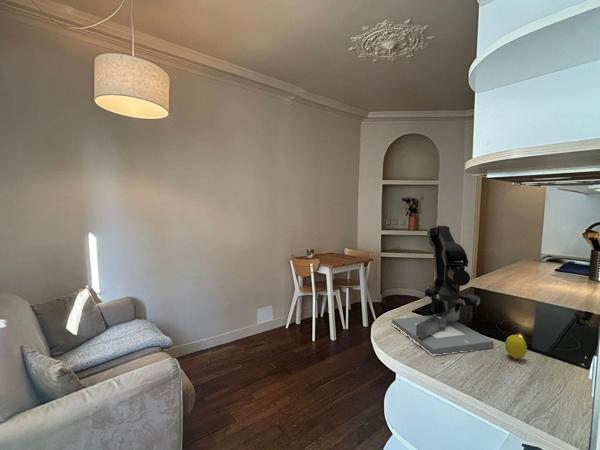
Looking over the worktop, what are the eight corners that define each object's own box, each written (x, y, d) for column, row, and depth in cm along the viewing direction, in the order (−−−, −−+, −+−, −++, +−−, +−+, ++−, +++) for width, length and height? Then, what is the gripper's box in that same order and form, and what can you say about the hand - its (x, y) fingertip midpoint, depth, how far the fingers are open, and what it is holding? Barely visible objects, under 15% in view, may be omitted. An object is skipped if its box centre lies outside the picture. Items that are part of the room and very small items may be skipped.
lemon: (501, 358, 95) (503, 334, 94) (507, 352, 98) (509, 329, 98) (522, 365, 91) (525, 340, 90) (527, 359, 94) (530, 335, 93)
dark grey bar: (450, 316, 119) (450, 306, 119) (461, 319, 116) (462, 309, 116) (413, 334, 103) (413, 323, 102) (425, 339, 99) (426, 327, 99)
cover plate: (442, 320, 124) (443, 313, 124) (493, 348, 101) (493, 340, 101) (391, 325, 118) (392, 318, 118) (432, 356, 95) (433, 348, 95)
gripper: (420, 278, 117) (418, 316, 118) (473, 287, 104) (471, 330, 105) (430, 273, 125) (428, 309, 126) (481, 281, 112) (479, 321, 114)
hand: (450, 317), depth 118 cm, fingers open, 3 cm apart
